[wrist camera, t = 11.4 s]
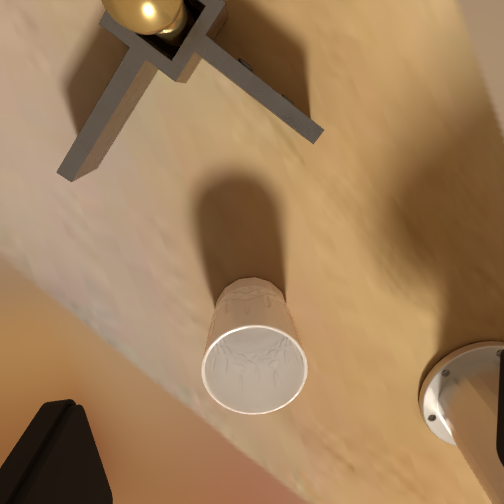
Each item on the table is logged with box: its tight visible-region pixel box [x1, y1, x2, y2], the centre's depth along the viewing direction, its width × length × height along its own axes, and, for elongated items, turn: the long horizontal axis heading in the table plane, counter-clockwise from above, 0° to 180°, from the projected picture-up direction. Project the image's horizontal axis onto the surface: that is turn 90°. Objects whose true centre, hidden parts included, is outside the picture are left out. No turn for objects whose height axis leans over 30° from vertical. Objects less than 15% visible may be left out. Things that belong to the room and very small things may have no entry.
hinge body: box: [57, 0, 324, 182], centre depth 33 cm, size 16×16×6 cm
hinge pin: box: [102, 0, 195, 46], centre depth 27 cm, size 4×4×13 cm
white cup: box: [201, 277, 308, 414], centre depth 37 cm, size 8×8×10 cm
